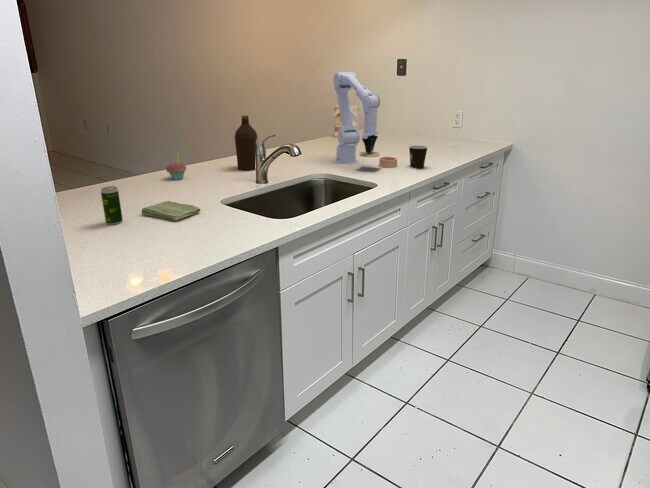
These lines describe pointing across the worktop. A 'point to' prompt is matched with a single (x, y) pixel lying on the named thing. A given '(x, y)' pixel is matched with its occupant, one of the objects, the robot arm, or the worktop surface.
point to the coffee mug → (417, 156)
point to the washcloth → (170, 211)
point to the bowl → (388, 162)
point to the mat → (368, 169)
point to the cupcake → (176, 169)
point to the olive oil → (245, 145)
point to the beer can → (111, 205)
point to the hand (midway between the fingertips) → (369, 151)
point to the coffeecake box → (337, 118)
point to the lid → (369, 154)
